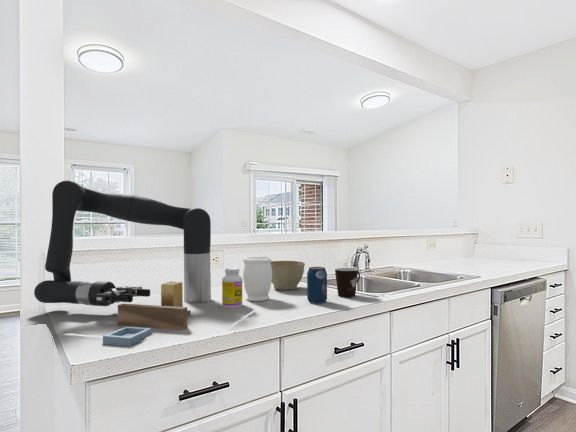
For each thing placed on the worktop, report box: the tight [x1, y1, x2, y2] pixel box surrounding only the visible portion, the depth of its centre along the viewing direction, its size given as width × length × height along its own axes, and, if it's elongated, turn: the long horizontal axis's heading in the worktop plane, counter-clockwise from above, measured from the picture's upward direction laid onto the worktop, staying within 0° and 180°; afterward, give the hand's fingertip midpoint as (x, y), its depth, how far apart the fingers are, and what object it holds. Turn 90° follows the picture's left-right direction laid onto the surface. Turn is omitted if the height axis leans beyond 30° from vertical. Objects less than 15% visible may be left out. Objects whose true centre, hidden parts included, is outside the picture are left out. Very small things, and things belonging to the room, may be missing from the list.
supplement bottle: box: [221, 267, 243, 309], centre depth 132 cm, size 7×7×13 cm
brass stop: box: [160, 281, 184, 307], centre depth 117 cm, size 5×4×10 cm
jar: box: [242, 256, 273, 302], centre depth 145 cm, size 11×10×15 cm
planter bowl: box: [270, 260, 306, 291], centre depth 167 cm, size 16×16×11 cm
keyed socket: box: [102, 326, 153, 347], centre depth 98 cm, size 8×8×2 cm
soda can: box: [306, 266, 328, 305], centre depth 139 cm, size 7×7×12 cm
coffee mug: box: [334, 267, 361, 299], centre depth 150 cm, size 12×9×10 cm
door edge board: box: [117, 303, 188, 331], centre depth 107 cm, size 2×20×6 cm, turn 75°
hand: (141, 295), depth 120 cm, fingers open, 8 cm apart
